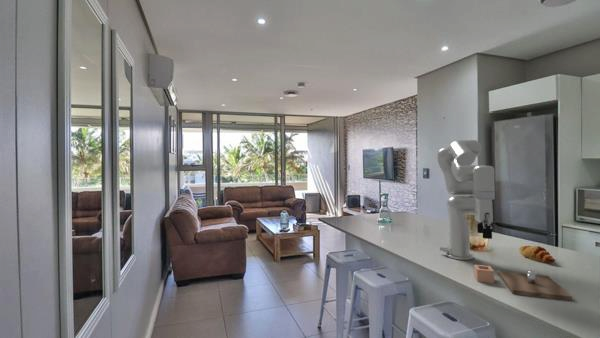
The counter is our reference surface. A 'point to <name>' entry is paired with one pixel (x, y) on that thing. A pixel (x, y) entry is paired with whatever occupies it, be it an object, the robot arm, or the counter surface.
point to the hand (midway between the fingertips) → (484, 235)
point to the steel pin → (531, 277)
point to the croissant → (536, 254)
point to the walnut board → (534, 286)
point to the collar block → (484, 273)
